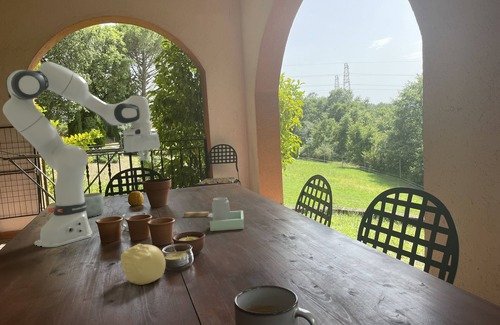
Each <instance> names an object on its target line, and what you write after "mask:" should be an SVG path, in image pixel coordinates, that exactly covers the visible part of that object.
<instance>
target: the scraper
mask: <svg viewBox="0 0 500 325" xmlns="http://www.w3.org/2000/svg"><path fill="white" fill-rule="evenodd" d="M212 213H213V212H210V211H186V212H184V213H183V217H184V218H199V217H200V218H201V217H204V218H205V217H206V219H207V218H210V219H211V218H212ZM212 219H213V218H212Z"/></svg>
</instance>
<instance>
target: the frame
mask: <svg viewBox="0 0 500 325" xmlns="http://www.w3.org/2000/svg"><path fill="white" fill-rule="evenodd" d="M211 213H212V219H213V212H211ZM244 222H245V220H244V210H232V211H231V210H230V220H216V221H213V220H209V229H210V232H213V231H229V230H230V231H231V230H243V229H245V223H244Z"/></svg>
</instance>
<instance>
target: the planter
mask: <svg viewBox="0 0 500 325" xmlns="http://www.w3.org/2000/svg"><path fill="white" fill-rule="evenodd" d="M84 198H85V202H86V206H87V211H86V213H87V218H93V217H98V216H101V215H102V214H103V213H104V210H105V207H104V193H103V192H90V193H84ZM97 215H98V216H97ZM92 216H93V217H92Z"/></svg>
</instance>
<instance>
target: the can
mask: <svg viewBox="0 0 500 325" xmlns="http://www.w3.org/2000/svg"><path fill="white" fill-rule="evenodd" d="M212 200H213V201H211V209H212V210H211V211H212V212H211V213H213V218H212V221H216V220H230V211H231V209H230V201H229V200H228V197H225V196H221V197H214V198H213V199H212Z"/></svg>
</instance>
